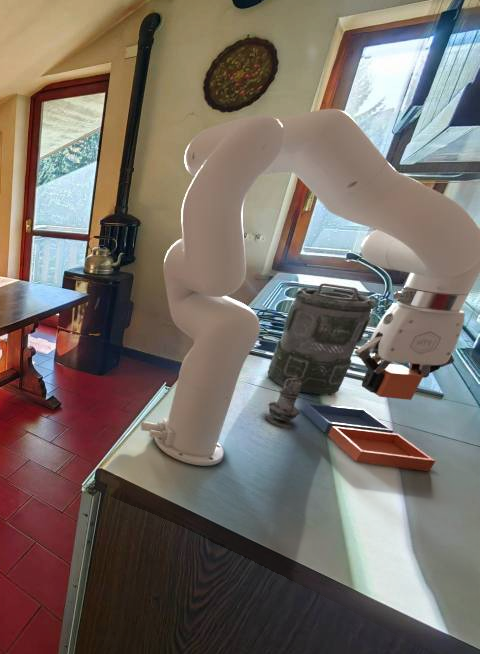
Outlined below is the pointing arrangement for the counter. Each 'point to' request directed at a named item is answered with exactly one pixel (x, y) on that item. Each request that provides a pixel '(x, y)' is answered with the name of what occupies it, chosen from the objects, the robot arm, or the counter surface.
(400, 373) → the terracotta block
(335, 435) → the terracotta tray
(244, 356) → the robot arm
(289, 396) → the dark chess piece
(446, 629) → the counter surface
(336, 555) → the counter surface
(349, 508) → the counter surface
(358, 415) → the blue tray
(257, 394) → the counter surface
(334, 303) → the canister
